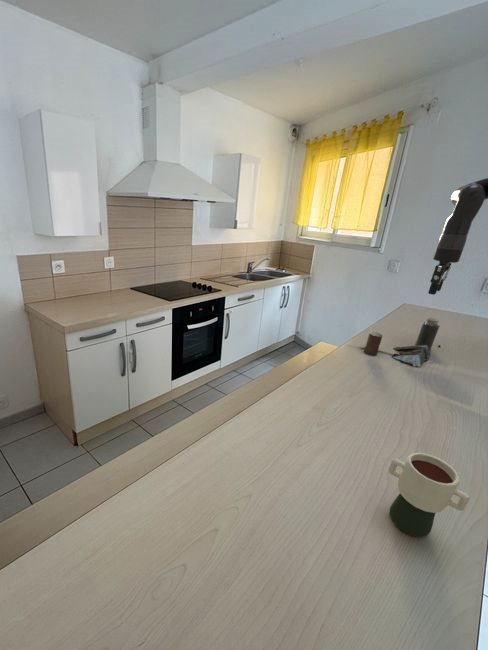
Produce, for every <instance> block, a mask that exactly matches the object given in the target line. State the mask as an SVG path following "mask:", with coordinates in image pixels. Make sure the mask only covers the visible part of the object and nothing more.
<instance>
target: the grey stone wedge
mask: <svg viewBox="0 0 488 650" xmlns="http://www.w3.org/2000/svg"><path fill="white" fill-rule="evenodd" d="M392 350H394V351H397V352H398V353H394V354H392V356H391V358H392V359H395V360H398V361H400V363H402V364H405V363H407V364H410V365H412V367H418V368H421V367H422V365H423V364H424V363H427V362H429V360H430V358H431V350H430V351H429V350H428V345H420V346H415V345H408V346H407V345H405V346H404V345H403V346H394V347H393V348H392Z"/></svg>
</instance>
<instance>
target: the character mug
mask: <svg viewBox="0 0 488 650" xmlns="http://www.w3.org/2000/svg"><path fill="white" fill-rule="evenodd" d="M397 467H399V468H401V469H402V470H401V472H399V471H397V470H396V469H397ZM387 471H388V473H389V474H390V475H391V476H394V477H395V478H397V479H398V481H397V488H398V492H399V494H398V495H397V496H396V498H395V499H394V501H393V502H392V504H391V505H390V506H389V516H390V518H391V520H392V522H393V523H394V524H395V525H396V527H397V528H398V529H400V530H401V531H402V532H404V533H406V534H407V535H410V536H414V537H417V538H422V537H427V536H428V535H429V534H430V533H431V531H432V529H433V525H434V520H435V516H436V514H437V513H441V512H443V511H444V510H445V509H446V508H447V507H448V506H450V507H451V508H453V509H455V510H457V511H460V512H462V511H464V510H465V509H466V507H467V505H468V503H469V502H470V496H469V495H468V494H467V493H466V492H463V491H462V490H459V489H458V486H459V484H460V476H459V474H458V473H457V471H456V470H455V468H454V467H452V466H451V464H449V463H447V462H446V461H444V460H443V459H441V458H439V457H438V456H435V455H432V454H430V453H429V454H428V453H424V452H414V453H413V452H412V453H411V454H410V455H408V456H407V458H406V460H405V462H403V461H402V460H400V459H397V458H392V459H391V461H390V464H389V466H388V470H387ZM453 496H456V497H458V498H459V500H458V502H457V501H454V500H453V499H452V498H453Z"/></svg>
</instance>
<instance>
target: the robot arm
mask: <svg viewBox="0 0 488 650" xmlns="http://www.w3.org/2000/svg"><path fill="white" fill-rule="evenodd" d="M450 199H451V203H452V205H453V206H454V207H455V208H454V210H453V212H452V214H451V215H450V216H448V217H447V219H446V221H445V224H444V227H443V230H442V232H441V235H440V237H439V240H438V242H437V245H436V248H435V251H434V254H433V257H432V259H433V260H434V261H437V262H439V263H438V264H435V267H434V271H433V273H432V276H431V279H430V287H429V289H428V292H427V293H428V295H433V296H435V295H436V294H437V292H440V291H441V290H442V288H443V284H444V282H445V281H446V279H447V278H448V275H449V272H450V270H451V266H452V264H454V263H455V264H456V263H459V262H460V260H461V256H462V254H463V252H464V250H465V249H464V248H465V245H466V244H467V239H468V235H469V232H470V229H471V227H472V224H473V222H474V220H475V218H476V216H477V215H478V213H479V212H480V210H481V208H482V206H483V204H484V202H485V200H488V177H487V178H482V179H479V180H477V181H473V182H470V183H468V184H465V185H461V186H460V187H458V188H456V190H455V191H454V192H453V193H452V195H451V197H450Z"/></svg>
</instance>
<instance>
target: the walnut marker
mask: <svg viewBox="0 0 488 650" xmlns="http://www.w3.org/2000/svg"><path fill="white" fill-rule="evenodd" d="M382 339H383V334H382V333H379V332H375V331H370V332H369V334H368V336H367V340H366V343H365V347H364V351H363V353H364V354H365V355H368V356H370V355H371V357H376V356H377V355H378V352H379V349H380V346H381V343H382Z"/></svg>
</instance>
